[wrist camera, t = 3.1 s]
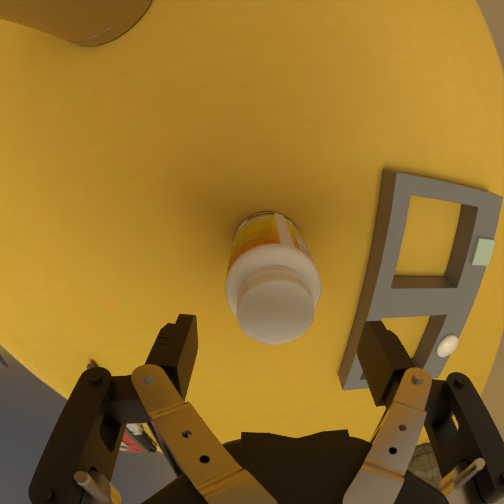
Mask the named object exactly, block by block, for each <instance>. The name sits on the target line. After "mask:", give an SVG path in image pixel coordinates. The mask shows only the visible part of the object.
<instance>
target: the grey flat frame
mask: <svg viewBox="0 0 504 504" xmlns="http://www.w3.org/2000/svg"><path fill="white" fill-rule="evenodd" d="M410 195H415V196H421V197H427V198H433V199H439V200H444V201H450V202H455V203H460V204H462V208H461V213H460V218H459V223H458V228H457V232H456V237H455V241H454V245H453V249H452V252H451V256H450V260H449V263H448V267H447V270H446V274H445V277H439V276H394V273H395V269H396V265H397V261H398V257H399V252H400V248H401V243H402V239H403V234H404V229H405V224H406V218H407V213H408V207H409V201H410ZM502 198H503V197H502V196H499V195H497V194H494V193H491V192H489V191H485V190H482V189H478V188H474V187H470V186H466V185H462V184H458V183H454V182H449V181H445V180H440V179H436V178H431V177H426V176H421V175H416V174H411V173H405V172H400V171H394V170H388V169H383V176H382V184H381V191H380V199H379V205H378V212H377V218H376V224H375V230H374V236H373V241H372V246H371V252H370V257H369V261H368V266H367V271H366V275H365V280H364V284H363V288H362V293H361V297H360V301H359V305H358V309H357V312H356V316H355V320H354V324H353V327H352V331H351V334H350V338H349V341H348V345H347V348H346V351H345V354H344V358H343V361H342V364H341V367H340V370H339V373H338V376H339V379H340V382H341V386H342V389H343V390H352V389H363V388H369V386H368V383H367V380H366V378H365V375H364V373H363V370H362V367H361V365H360V362H359V360H358V357H357V347H358V343H359V340H360V337H361V334H362V330H363V327H364V324H365V322H366V321H381V319H382V318H394V317H415V316H431V318H430V320H429V323H428V325H427V328H426V330H425V333H424V335H423V338H422V340H421V342H420V345H419V347H418V349H417V351H416V354H415V356H414V358H413V359H411V360H412V362H413V364H414V365H415V367H416V368H421V369H423V370H425V371H426V372H428V373H429V374H430V376H431V378H438V377H439V375H440V373H441V371H442V370H443V368H444V366H445V364H446V362H447V360H448V358H449V356H450V354H451V353H452V352H453V351H454V350H455V348H456V347H457V345H458V338H459V336H460V334H461V331H462V329H463V327H464V325H465V322H466V320H467V318H468V315H469V313H470V310H471V308H472V305H473V303H474V300H475V298H476V295H477V292H478V289H479V287H480V284H481V281H482V278H483V275H484V272H485V269H486V266H488V265H489V262H490V258H491V255H492V251H493V247H494V244H495V240H494V236H495V232H496V228H497V224H498V219H499V214H500V209H501V204H502Z"/></svg>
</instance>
